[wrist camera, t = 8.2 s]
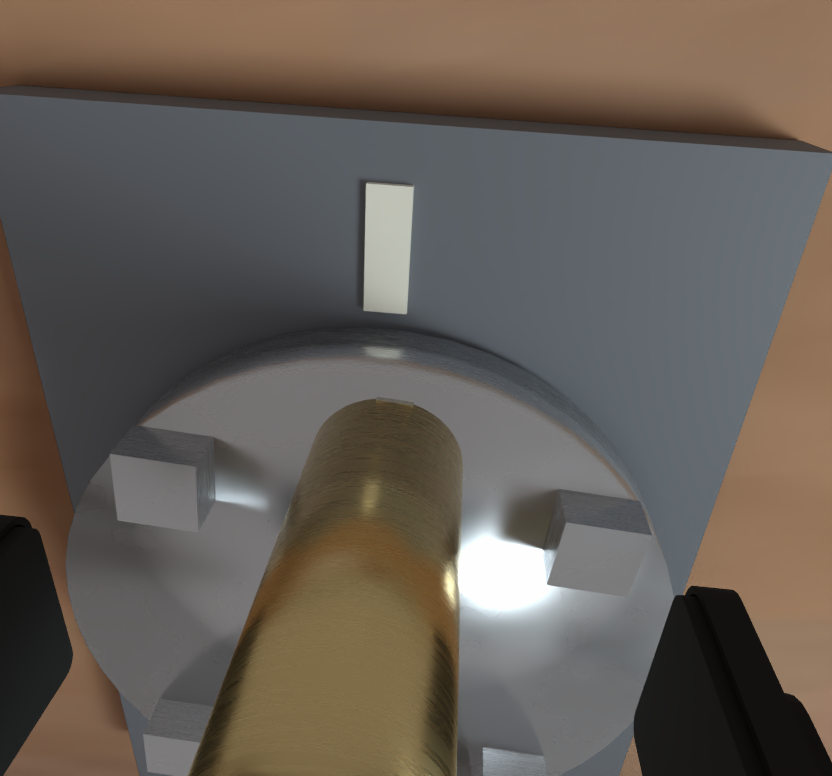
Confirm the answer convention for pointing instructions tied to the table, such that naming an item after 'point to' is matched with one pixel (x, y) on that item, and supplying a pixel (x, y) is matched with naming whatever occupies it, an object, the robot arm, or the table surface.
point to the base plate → (407, 266)
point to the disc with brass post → (368, 566)
